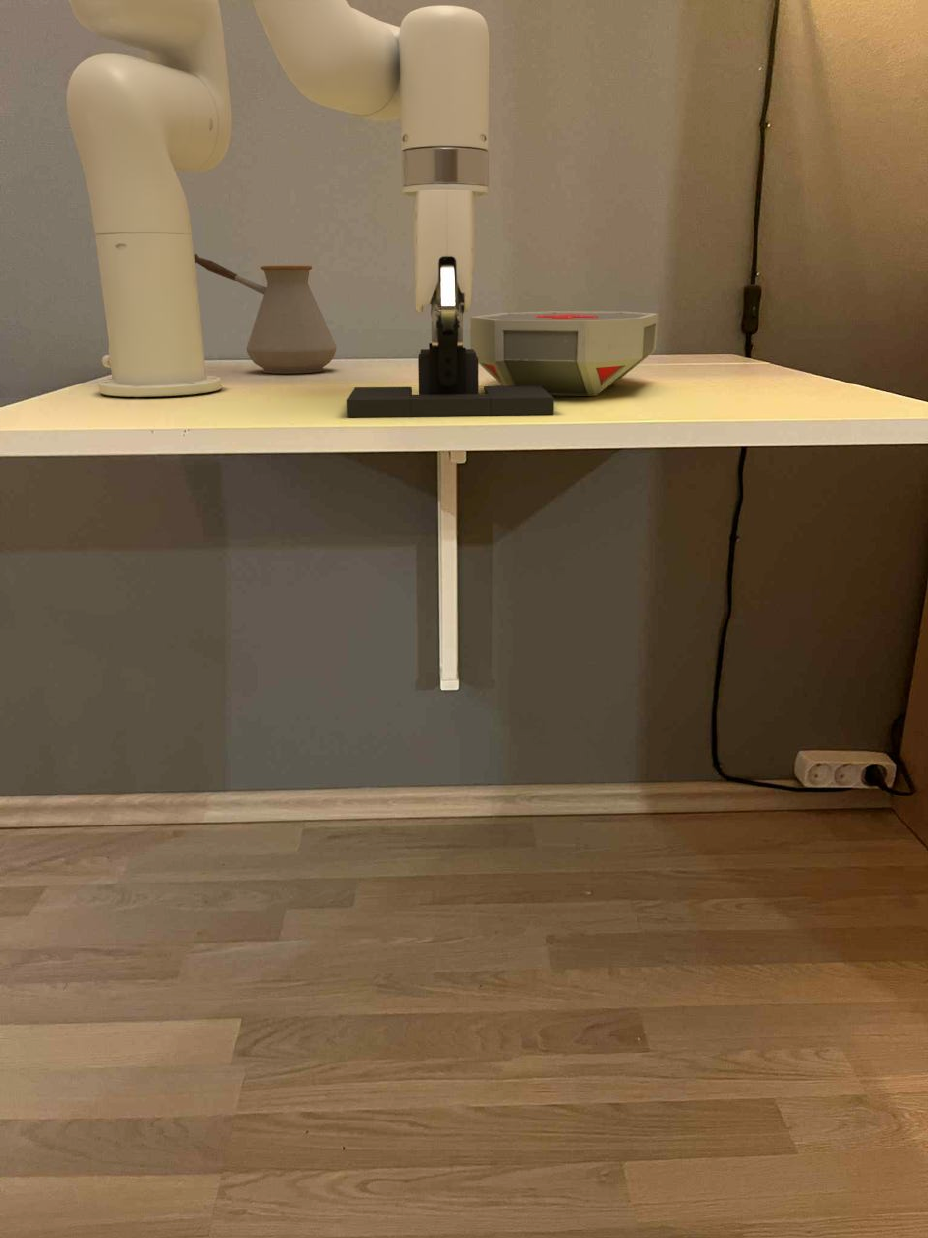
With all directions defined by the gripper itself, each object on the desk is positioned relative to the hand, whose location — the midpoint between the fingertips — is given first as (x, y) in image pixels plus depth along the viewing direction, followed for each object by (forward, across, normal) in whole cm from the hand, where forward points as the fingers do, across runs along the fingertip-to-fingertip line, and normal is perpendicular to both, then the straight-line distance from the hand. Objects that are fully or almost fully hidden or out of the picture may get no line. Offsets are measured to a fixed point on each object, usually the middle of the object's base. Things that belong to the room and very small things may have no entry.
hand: (447, 387), depth 89 cm
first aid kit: (+2, -14, +13) cm, 19 cm away
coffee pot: (+2, -39, -24) cm, 46 cm away
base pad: (+2, +2, 0) cm, 2 cm away
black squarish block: (+1, 0, 0) cm, 1 cm away
